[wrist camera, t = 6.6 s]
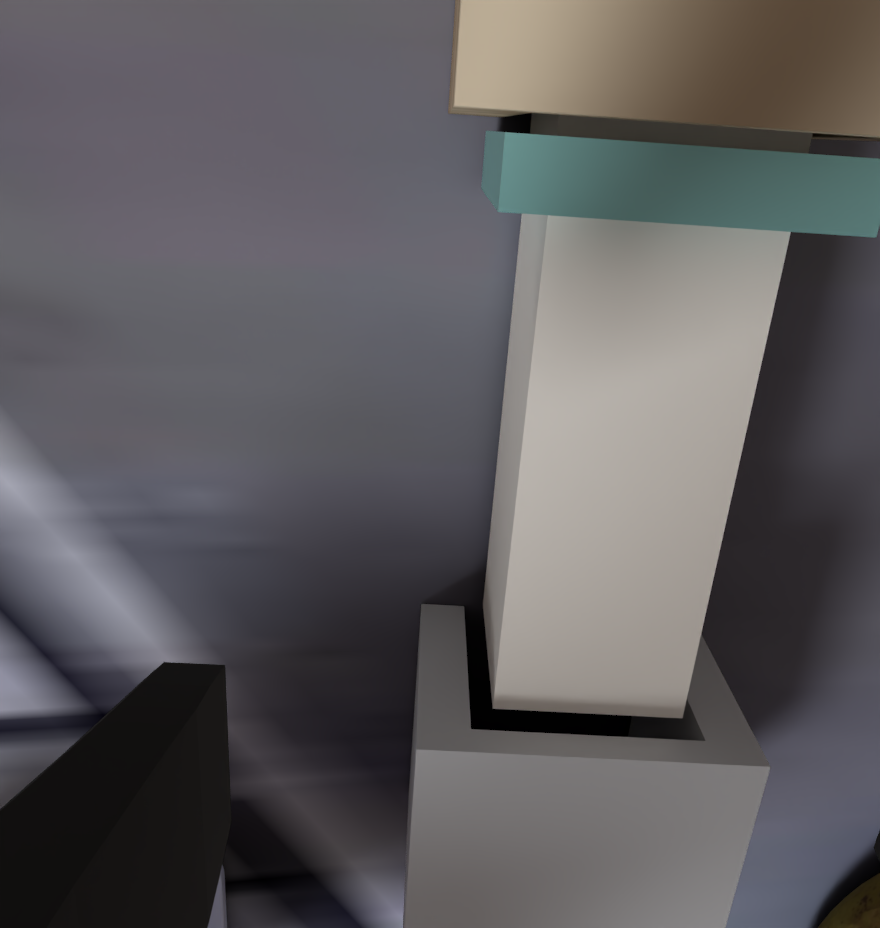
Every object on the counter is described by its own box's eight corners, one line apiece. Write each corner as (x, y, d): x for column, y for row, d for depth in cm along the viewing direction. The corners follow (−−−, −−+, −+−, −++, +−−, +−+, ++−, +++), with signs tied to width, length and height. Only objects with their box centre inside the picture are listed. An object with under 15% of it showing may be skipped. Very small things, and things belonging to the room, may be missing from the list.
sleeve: (408, 794, 21) (401, 972, 17) (421, 603, 19) (416, 748, 15) (652, 806, 21) (708, 985, 17) (692, 618, 19) (770, 767, 15)
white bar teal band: (447, 602, 19) (451, 739, 14) (496, 5, 14) (520, -47, 10) (673, 615, 19) (740, 754, 15) (793, 27, 14) (941, -13, 10)
